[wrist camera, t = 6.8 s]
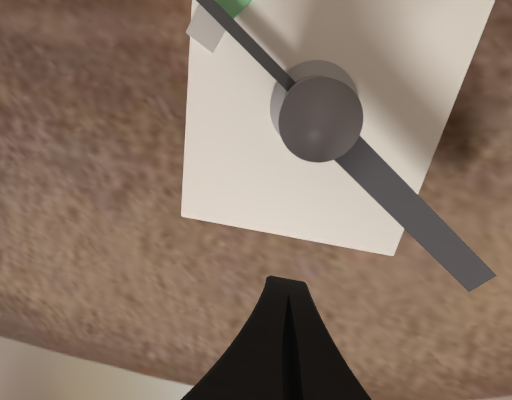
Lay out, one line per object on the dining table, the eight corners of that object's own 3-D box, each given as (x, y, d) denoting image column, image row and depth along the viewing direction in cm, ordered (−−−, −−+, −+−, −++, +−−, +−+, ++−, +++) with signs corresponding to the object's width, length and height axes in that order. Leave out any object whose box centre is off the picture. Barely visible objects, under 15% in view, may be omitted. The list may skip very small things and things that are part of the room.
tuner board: (184, 208, 18) (177, 217, 17) (200, -81, 13) (191, -96, 12) (388, 246, 18) (394, 258, 17) (498, -40, 12) (518, -51, 11)
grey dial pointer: (184, 26, 13) (142, 11, 10) (225, -34, 12) (195, -77, 9) (419, 254, 16) (456, 309, 13) (468, 221, 15) (523, 270, 12)
